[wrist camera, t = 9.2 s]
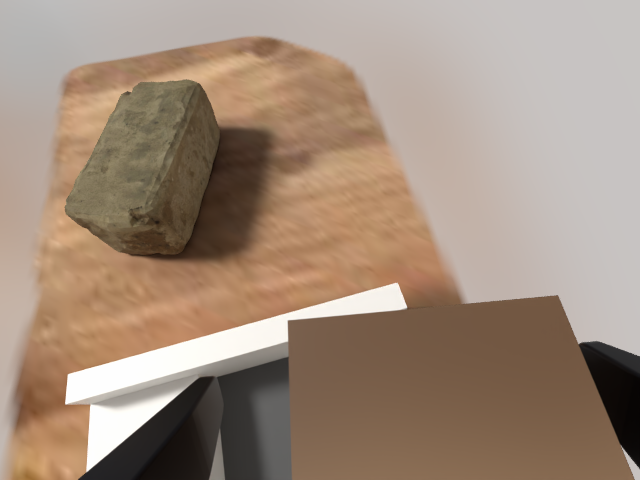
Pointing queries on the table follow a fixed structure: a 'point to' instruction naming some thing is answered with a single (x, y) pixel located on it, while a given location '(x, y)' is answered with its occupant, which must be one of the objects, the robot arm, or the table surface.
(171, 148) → the stone block
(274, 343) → the walled channel
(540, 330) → the walnut block
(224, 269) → the table surface
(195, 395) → the robot arm
